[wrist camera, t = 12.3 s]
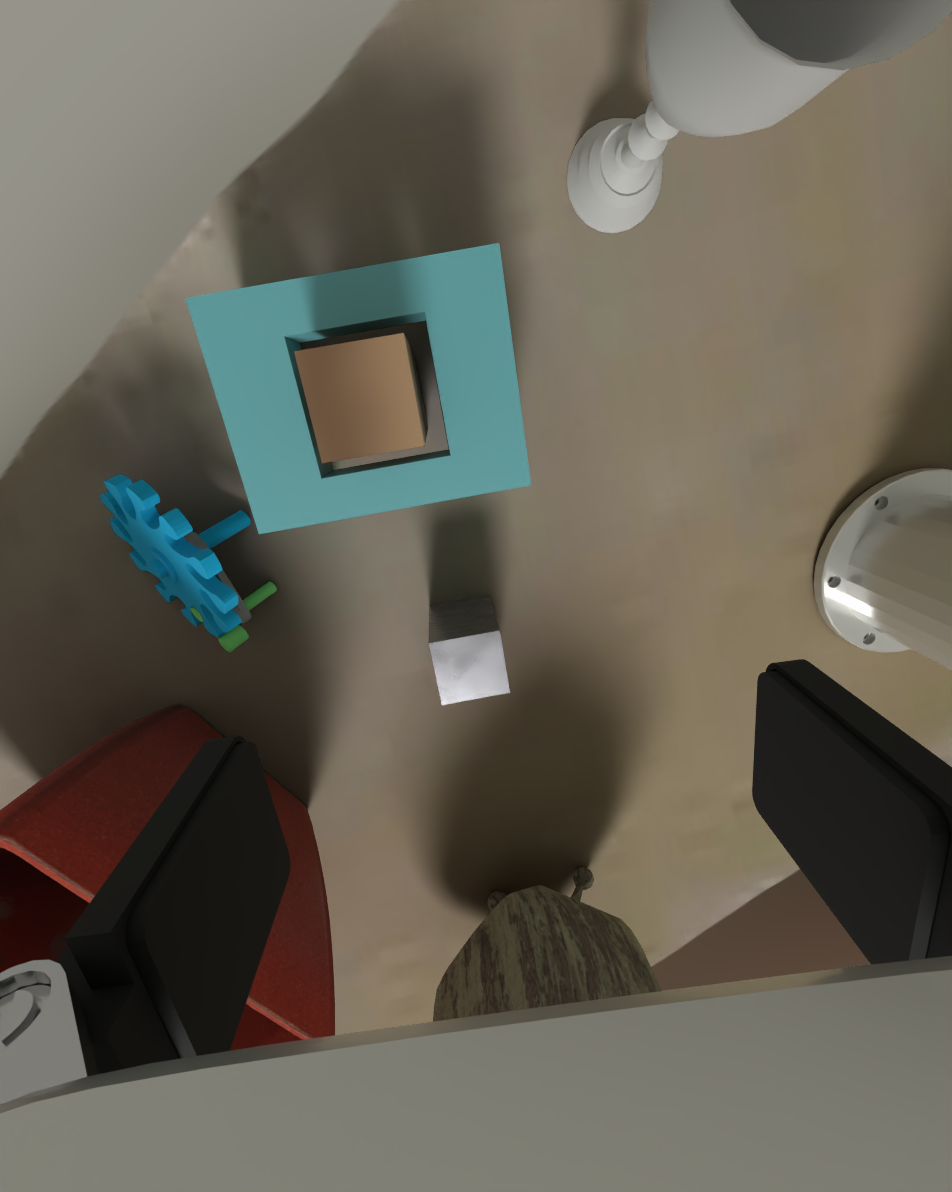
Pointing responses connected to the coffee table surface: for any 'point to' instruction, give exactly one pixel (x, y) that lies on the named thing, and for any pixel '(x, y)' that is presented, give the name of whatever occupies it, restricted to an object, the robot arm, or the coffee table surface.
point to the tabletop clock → (543, 956)
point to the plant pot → (107, 830)
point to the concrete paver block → (467, 650)
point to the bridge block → (350, 305)
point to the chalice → (730, 83)
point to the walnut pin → (363, 397)
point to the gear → (183, 558)
